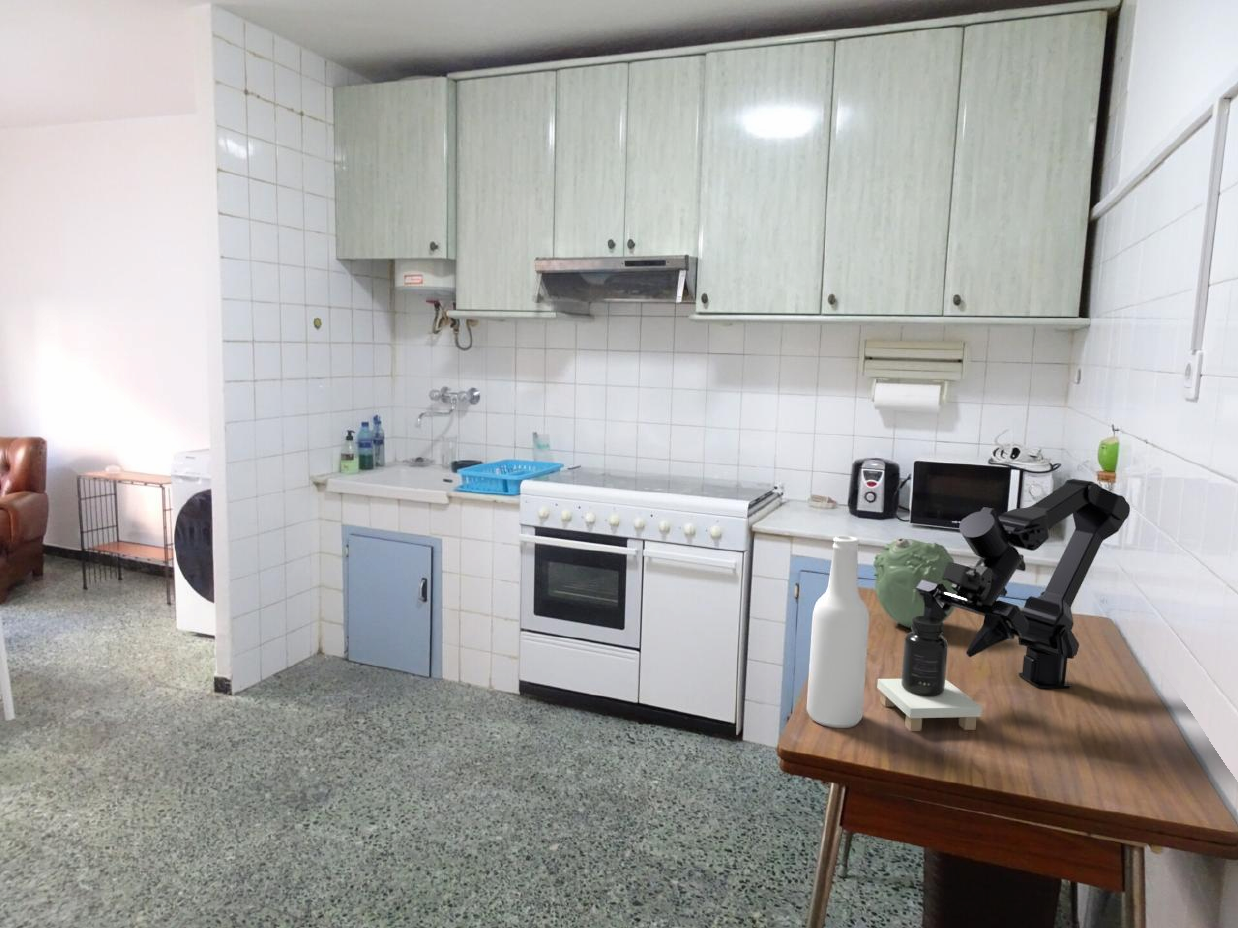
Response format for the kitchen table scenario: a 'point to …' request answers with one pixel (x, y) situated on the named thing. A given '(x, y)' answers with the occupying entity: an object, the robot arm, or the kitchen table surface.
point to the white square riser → (929, 704)
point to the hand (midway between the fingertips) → (944, 646)
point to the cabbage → (908, 577)
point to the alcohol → (839, 643)
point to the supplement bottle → (925, 657)
